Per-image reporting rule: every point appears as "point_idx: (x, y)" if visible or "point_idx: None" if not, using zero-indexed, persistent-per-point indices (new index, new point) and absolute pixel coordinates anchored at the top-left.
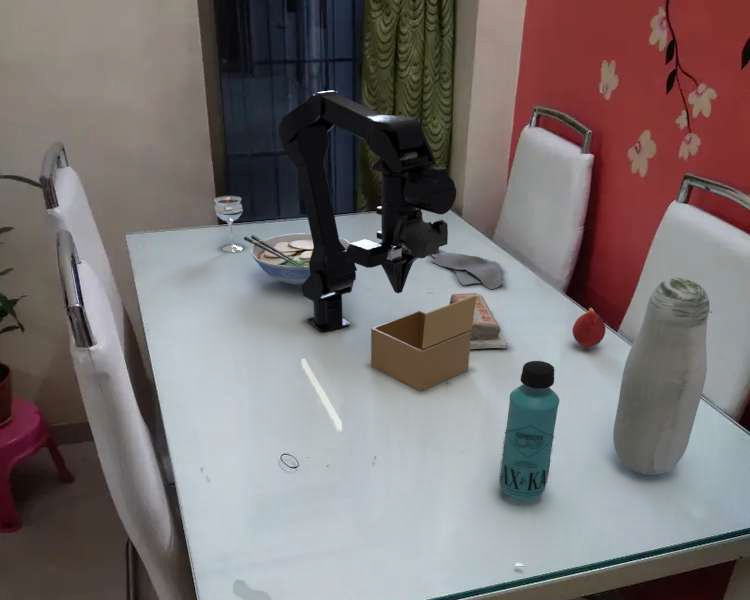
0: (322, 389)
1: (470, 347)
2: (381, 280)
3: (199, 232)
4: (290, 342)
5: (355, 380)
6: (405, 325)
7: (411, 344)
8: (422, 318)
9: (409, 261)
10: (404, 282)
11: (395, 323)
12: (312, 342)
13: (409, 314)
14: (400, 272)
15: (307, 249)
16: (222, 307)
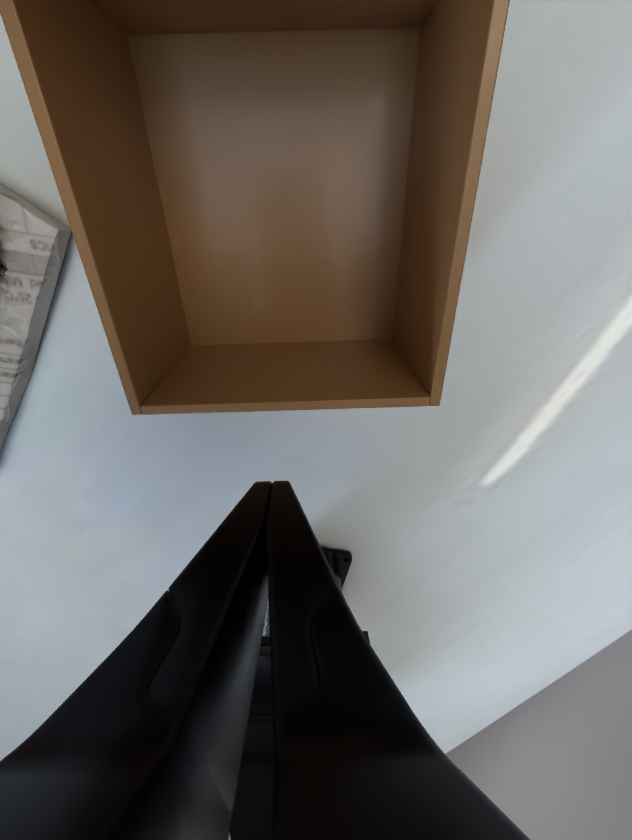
0: (615, 319)
1: (4, 187)
2: (67, 650)
3: None
4: (436, 552)
5: (506, 299)
6: (238, 383)
7: (219, 350)
8: (144, 373)
9: (111, 825)
10: (229, 528)
11: (297, 394)
12: (401, 529)
13: (200, 410)
14: (295, 635)
15: None
16: (410, 688)
